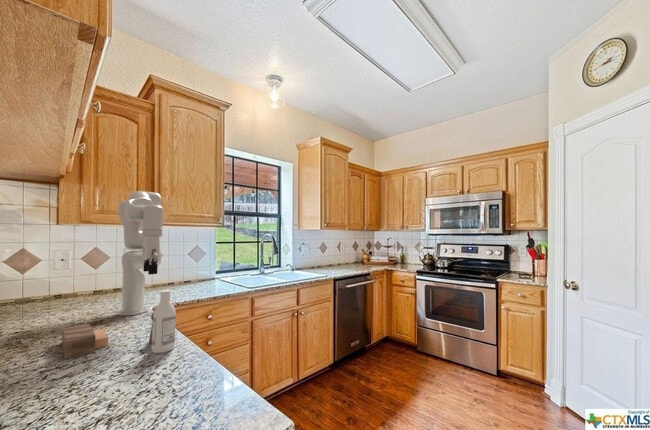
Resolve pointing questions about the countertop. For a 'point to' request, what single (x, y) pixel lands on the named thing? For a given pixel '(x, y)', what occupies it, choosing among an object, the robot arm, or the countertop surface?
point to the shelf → (78, 340)
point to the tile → (100, 339)
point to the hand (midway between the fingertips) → (150, 272)
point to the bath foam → (164, 325)
